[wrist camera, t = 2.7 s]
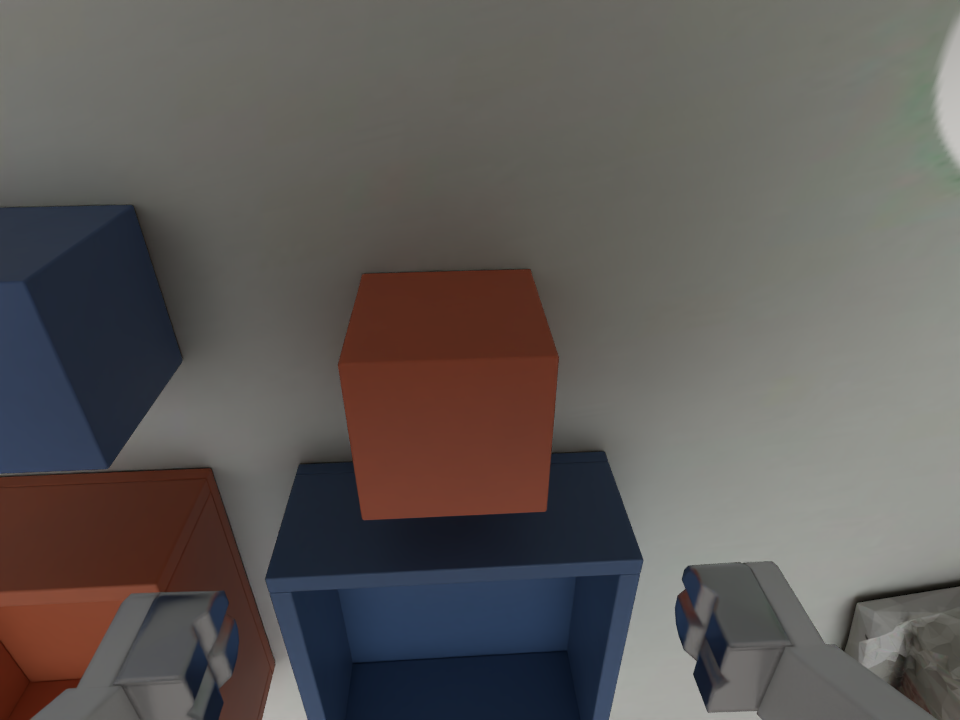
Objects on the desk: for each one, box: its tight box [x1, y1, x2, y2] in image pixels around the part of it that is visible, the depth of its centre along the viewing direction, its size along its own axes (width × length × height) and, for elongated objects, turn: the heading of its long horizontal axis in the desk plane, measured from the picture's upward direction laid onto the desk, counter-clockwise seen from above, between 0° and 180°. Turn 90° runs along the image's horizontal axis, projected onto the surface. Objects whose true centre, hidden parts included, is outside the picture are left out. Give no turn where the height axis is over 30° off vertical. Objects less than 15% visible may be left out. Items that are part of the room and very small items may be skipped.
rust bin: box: [0, 468, 275, 720], centre depth 20 cm, size 11×10×4 cm
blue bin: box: [265, 452, 643, 720], centre depth 21 cm, size 11×10×4 cm
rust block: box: [338, 269, 559, 520], centre depth 15 cm, size 5×5×5 cm
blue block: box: [0, 205, 183, 474], centre depth 14 cm, size 5×5×5 cm
